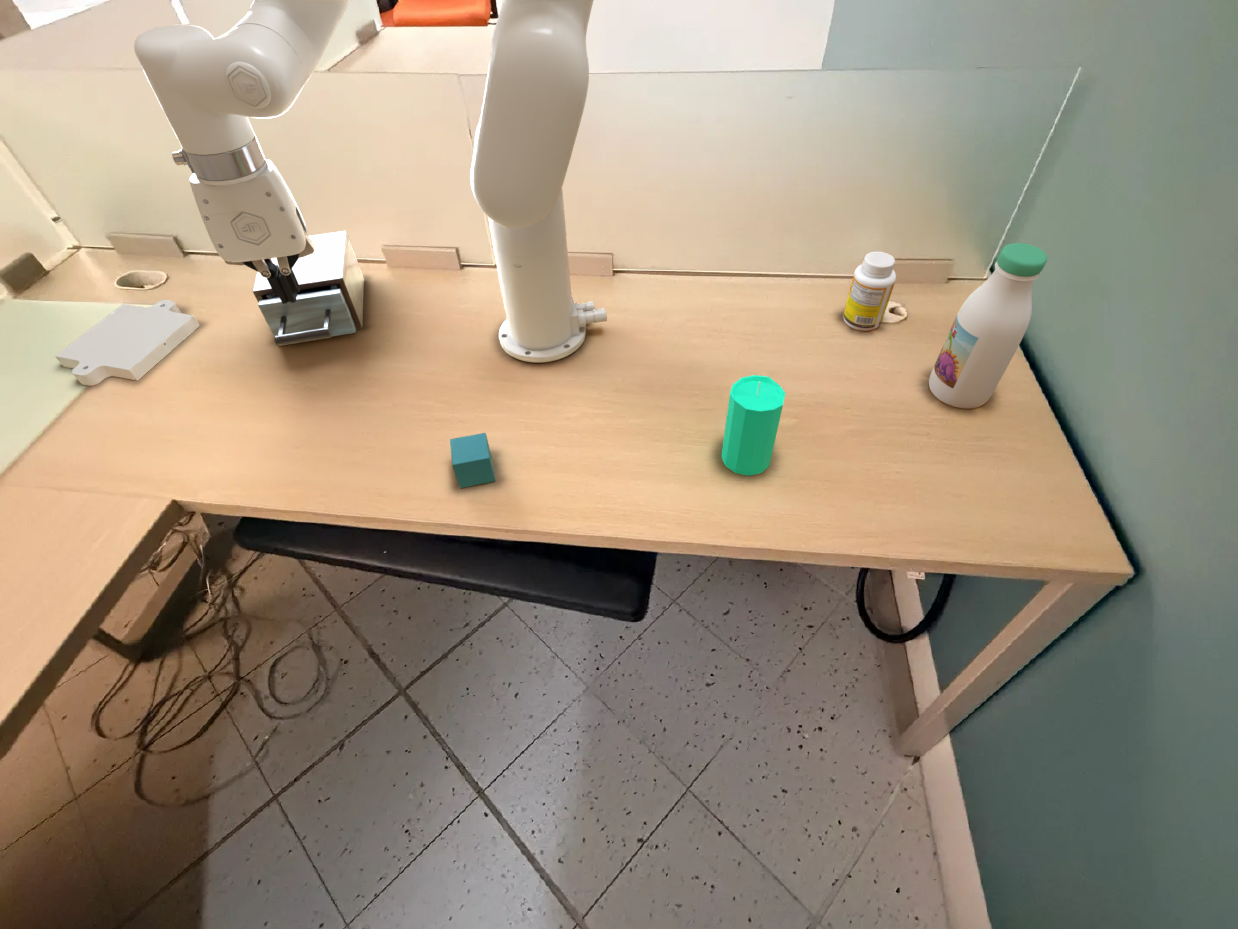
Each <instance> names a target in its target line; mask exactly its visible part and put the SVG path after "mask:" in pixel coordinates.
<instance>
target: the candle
mask: <svg viewBox="0 0 1238 929" xmlns="http://www.w3.org/2000/svg"><path fill="white" fill-rule="evenodd" d="M785 398H786V391H785V390H784V388H782V386H781V385H780V384H779V383H778V382H776V381H775V379H772V378H771V377H770V376H768V375H758V374H753V375H747V376H743V377H741V378H739V379H737V381H735V382H734V383H733V384H732V386H731V388H730V392H729V396H728V404H727V411H726V418H725V426H724V434H723V440H722V446H721V455H720V458H721V460H722V462H723V464H724V466H725V467H726V468H727V469H729V470H730V471H731V472H733V473H734V474H738V475H743V476H746V477H750V476H756V475H760V474H762V473H763V472H765V471H766V470H767V469H768V468H770V465H771V460H772V456H773V452H774V446H775V443H776V438H777V435H778V434H777V433H778V429H779V425H780V421H781V415H782V411H783V407H784V403H785Z"/></svg>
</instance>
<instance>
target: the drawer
mask: <svg viewBox="0 0 1238 929" xmlns="http://www.w3.org/2000/svg"><path fill="white" fill-rule="evenodd" d="M266 296H267V298H268V299H267V300H260V301H259V303H258V302H257V303H258V304H257V306H258V308H259V310H260V312H261V314H262V316H263V318H264V320H265V322H266V323H267V326H268V327H269V329H270V331H271V333H272V335H273V337H274V343H275V344H276V346H277V347H280V346H286V345H287V346H288V345H293V344H301V343H304V342H312V341H319V340H325V339H330V338H333V337H337V336H343V335H349V334H355V333H356V332H357V329H356V327H355V324H354V322H353V319H352V317H351V313H350V310H349V308H348V305H347V303H346V300H345V298H344V295H343V293H342V290H341V287H340V285H339V284H334V285H327V286H320V287H314V288H307V289H300V292H298V293H297V297H296V302H293V303H291V302H287V303H286V304H282V302H281V300H280V297H279V295H276V296H275V295H274V293H273V294H267V295H266Z"/></svg>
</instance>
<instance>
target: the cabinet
mask: <svg viewBox="0 0 1238 929" xmlns="http://www.w3.org/2000/svg"><path fill="white" fill-rule="evenodd" d="M308 236H309V238H310V239H311V240H312V242H313V243H314V245H315V250H314V253H313V254H310V255H308V256H305V257H301V258H298V260H297V262H296V263H295V265H294V266H293V268H292V270H293V272H294V274H295V277H296V279H297V281H298V283H299V286H300V289H307V288H314V287H320V286H327V285H334V284H339V285H340V287H341V290H342V293H343V295H344V298H345V300H346V303H347V305H348V308H349V310H350V313H351V317H352V319H353V322H354V324H355V327H356V330H359V329H363V320H364V319H363V318H364V317H363V316H364V291H365V290H364V289H365V288H364V286H365V278H364V276H363V272H362V270H361V267H360V265H359V261H358V259H357V256H356V254H355V250H354V248H353V244H352V242H351V240H350V237H349V234H348V231H347V230H340V231H333V232H327V233H320V234H319V233H318V234H312V235H308ZM271 260H272V261H273V263H274V264H275V265H278V262H277V258H271ZM278 267H279V266H278ZM252 294H253V295H254V297H255V299H256V301H257V303H259V301H260V300H267V299H268V298H267V296H266V295H267V294H273V291H272V288H271V286H270V284H269V282H268V280H267V278H264V277H262V276H261V274H260V273H259V272H257V271H256V275H255V279H254V283H253V287H252Z"/></svg>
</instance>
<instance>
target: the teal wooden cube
mask: <svg viewBox="0 0 1238 929" xmlns="http://www.w3.org/2000/svg"><path fill="white" fill-rule="evenodd" d="M449 444H450V445H449V446H450V455H451V465H452V468H453V472H454V474H455V478H456V480H457V484H458V487H459V488H460V489H463V488H468V487H469V488H470V487H474V486H480V485H484V484H490V483H494V482H496V476H495V468H494V463H493V462H494V461H493V456H492V453H491V449H490V448H491V447H490V445H489V440H488V436H487V433H486V432H481V433H476V434H470V435H465V436H459V437H455V438H454V437H453V438H450V439H449Z"/></svg>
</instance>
